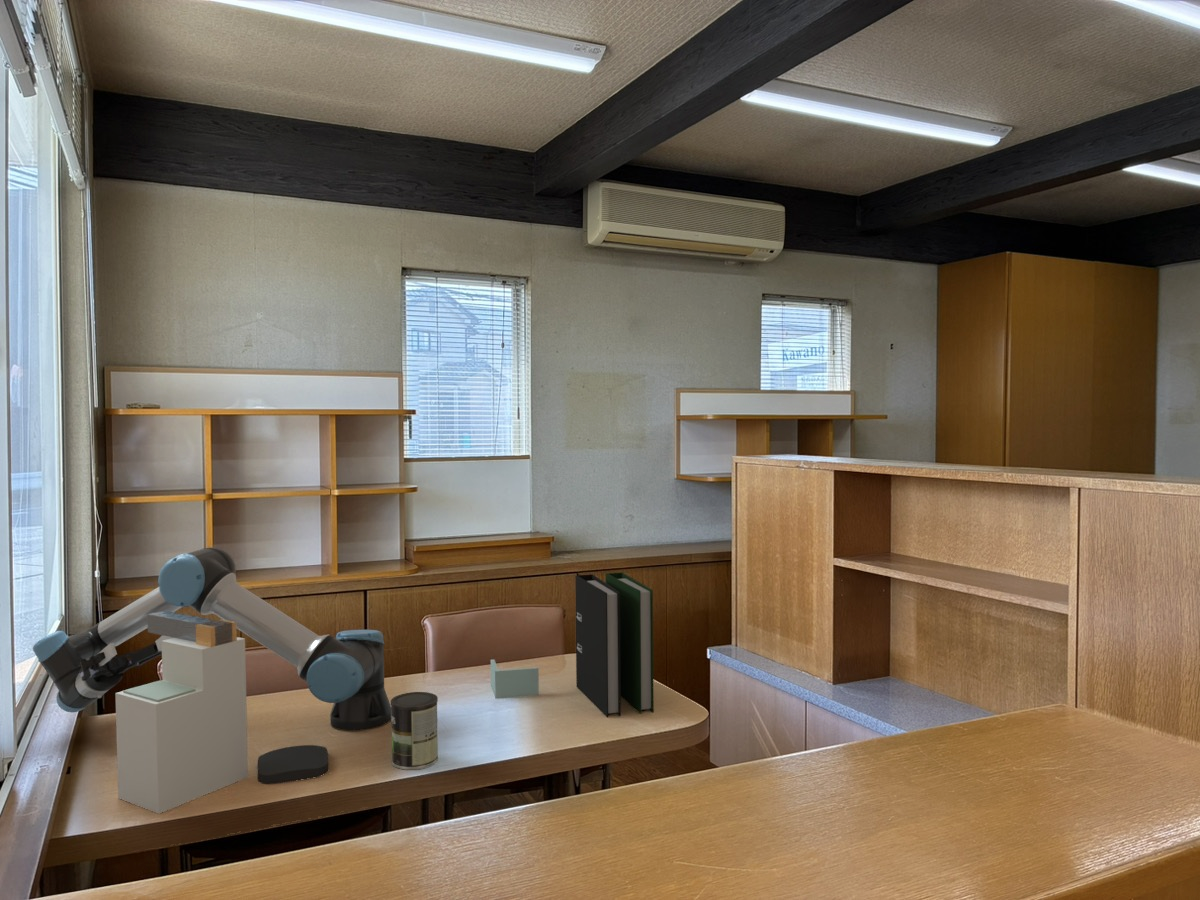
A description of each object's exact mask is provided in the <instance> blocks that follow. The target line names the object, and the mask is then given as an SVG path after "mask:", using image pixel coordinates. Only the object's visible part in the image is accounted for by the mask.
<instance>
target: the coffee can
mask: <svg viewBox="0 0 1200 900" xmlns="http://www.w3.org/2000/svg"><path fill="white" fill-rule="evenodd" d="M438 701H439V698H438V696H437V695H436V694H434V693H432V692H428V691H427V692H426V691H411V692H405V693H401V694H399V695H395V696H394V697H393V698H391V699H390V706H391V720H390V722H391V765H392V766H393V767H394V768H396V769H399V770H403V769H404V770H405V771H414V770H415V771H417V770H422V769H426V768H429V767H431V766H434V765H435V764H436V763H437V762H438V761H439V751H438V750H439V749H438V748H439V747H438Z"/></svg>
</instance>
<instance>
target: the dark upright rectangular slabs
mask: <svg viewBox="0 0 1200 900" xmlns="http://www.w3.org/2000/svg"><path fill="white" fill-rule="evenodd" d="M574 577H575V578H574V579H575V584H574V585H575V587H574V588H575V658H576V659H575V663H576V665H575V667H576V669H575V670H576V671H575V673H576V675H575V676H576V678H575V679H576V682H575V683H576V688H577V689H578V690H579V691H580V692H581V693H582V694H583V696H585V697H586V698H587V699H588V700H589V701H590V703H592V704H593V705H594V706H595V707H596V708H597V709H598V710H599V711H600V712H601V713H602V714H603V715H604V716H605V717H606V718H609V714H615V713H616V714H617V716H619V717H622V714H621V713H622V710H621V709H622V708H621V707H622V705H621V702H622V700H624V701H625V702H626V703H628V704H629V705H630V706H631V707H632V708H633V709H634V710H635V711H636V712H638V714H641V715H642V711H643V710H649V711H650V712H651V713H654V710H655V709H654V701H655V699H654V696H655V695H654V611H653V610H654V599H653V598H654V594H653V593H654V592H653V591H654V590H653V588H650V587H649V586H647V585H646V584H643V583H642V582H639V581H638V580H637V579H634V578H632V577H631V576H629V575H628V574H626V573H624V572H609V573H608V572H607V573H605V581H603V580H602V579H601V578H599V577H597V575H595V574H578V575H576V574H575V575H574Z"/></svg>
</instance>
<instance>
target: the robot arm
mask: <svg viewBox="0 0 1200 900" xmlns="http://www.w3.org/2000/svg"><path fill="white" fill-rule="evenodd" d="M236 566H237V565H236V563H235V560H234V558H233V556H231V554H230V553H229V552H228V551H226V550H223V549H222V548H218V547H204V548H201V549H198V550H195V551H190V552H187V553H181V554H178V555H176V556H175V557H173V558H170V559H169V560H168V561H167V562H165V563H164V564H163V566H162V567H161V569H160V571H159V574H158V580H157V581H158V587H156V588H155V589H153V590H151V591H149V592H147V594H144V595H143V596H141V597H140V598H138V599H136V600H135V601H133V602H131V603H130V604H128V605H126V606H125V607H123V608H121V609H120V610H118V611H116V612H115V613H113V614H111V615H110V616H108V617H107V618H105V619H103V620H101V621H99V622H97V624H94V625H93V626H91V627H89V628H88V629H86V630H83V631H82V632H79V633H76V634H73V635H70V636H69V635H67V634H66V632H65V631H64V630H57V631H54V632H52V633H50V634H48V635H46V636H44V637H43V638H41V639H39V640H38V641H36V642H35V643H34V645H33V647H32V651H33V653H34V654H35V656H36V658H37V659H38V662H39V663H40V664H41V666H42V668H43V670H45V671H46V673H47V675H48V676H49V678H50V679H51V681H52V682H53V684H54V686H55V687H56V689H57V690H58V692H57V693H56V703H57V706H58V707H59V708H60V709H61V710H62V711H64V712H66V713H67V712H68V713H78V712H80V711H83V710H84V709H86V708H88V707H90V706H91V705H92V704H94V703H95V701H97V700H98V699H102V697H103V695H104V694H106V693H107V692H108V691H109V690H111V689H112V688H115V686H116V685H117V684H119V682H121V680H123V678H124V677H123V676H124V673H125V672H127V670H129V669H131V668H134V667H135V668H140V667H141V666H143V665H144V664H146V663H147V662H149V661H152V660H154V659H155V658H157V657H159V656H162V641H163V640H167V639H172V638H173V637H169V636H164V635H160V637H158V638H156V640H155V642H153V643H152V644H149V645H147V646H145V647H142V648H140V649H138V650H136V651H133V652H132V651H129V652H126V653H123V654H122V655H118V653H117V652H118V651H117V650H116V647H117V646H120V645H121V644H122V643H124V642H126V641H128V640H129V639H131V638H133V637H134V636H136V635H138V634H139V633H141V632H143V631H145V630H146V629H148V616H147V614H151V613H156V612H161V611H169V612H174V613H176V611H178V610H180V609H182V608H185V607H190V608H191V609H193V610H194V611H195V612H198V613H199V614H201V615H203V616H207V615H211V614H213V615H215V616H217V618H220V620H221V619H223V620H228V621H234V622H236V628H237V630H239V631H240V632H241V633H243V634H245V635H247V636H248V637H250V638H251V639H252V640H254V641H256V642H257V643H258V644H260V645H262V646H263V647H265V648H267V649H268V650H270V652H272V653H275V654H276V655H277V656H279V657H280V658H282V659H284V660H285V661H287V662H289V664H291V665H293V667H296V668H297V674H298V677H299V678H300V679H302V680H303V681H305V682H306V684H307V686H308V689H309V692H310V693H311V694H312V695H313V697H315V698H316V699H317V700H320V701H321V702H324V703H329V704H332V708H331V711H330V715H329V716H330V717H329V719H330V721H329V722H330V723H329V724H330V726H331V727H332V728H334V729H336V730H343V731H349V732H350V731H363V730H364V731H365V730H371V729H374V728H376V729H377V728H379V727H381V726H384V725H386V724H388V723H389V722H391V721H392V720H391V702H390V701H389V698H388V697H389V696H388V695H387V691H386V690H385V689H386V687H385V649H384V648H385V641H384V634H383V633H382V631H380V630H376V629H347V630H343V631H339V632H337V633H336V634H335V635H336V636H335V637H334V636H333V635H331V634H323V635H318V633H315V632H314V631H312V630H311V629H309V628H308V627H306V626H305V625H304V624H301V623H299V622H298V621H296V620H295V619H293V618H292V617H291V616H289V615H287V614H286V613H284V612H283V611H281V610H279V609H278V608H277V607H276V606H274V605H271V604H270V603H269V602H267V601H266V600H264V599H263V598H261V597H259V596H257V595H256V594H254V593H253V592H251V591H250V590H249V589H247V588H245V587H244V586H242V585H241V584H239V583H238V582H237V575H236V571H237V569H236V568H237V567H236ZM116 655H117V656H116ZM128 657H129V658H128Z"/></svg>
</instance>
